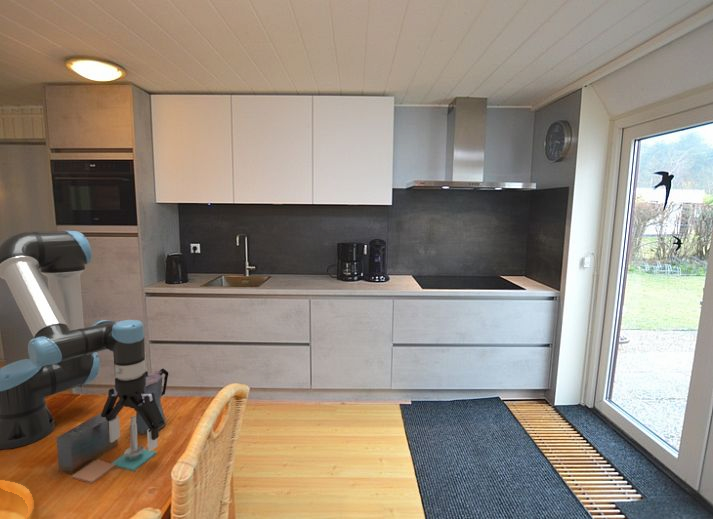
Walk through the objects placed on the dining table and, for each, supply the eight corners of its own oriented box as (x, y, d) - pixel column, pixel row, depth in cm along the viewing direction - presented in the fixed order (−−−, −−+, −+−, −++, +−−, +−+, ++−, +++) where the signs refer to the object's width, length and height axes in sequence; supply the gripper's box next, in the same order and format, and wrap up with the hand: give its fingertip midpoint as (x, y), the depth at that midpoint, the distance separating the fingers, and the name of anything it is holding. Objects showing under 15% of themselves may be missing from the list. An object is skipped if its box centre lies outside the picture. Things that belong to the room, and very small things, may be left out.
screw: (147, 455, 109) (131, 465, 105) (137, 450, 111) (120, 459, 107) (146, 414, 107) (130, 422, 103) (136, 409, 109) (119, 417, 105)
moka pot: (120, 437, 118) (117, 377, 116) (156, 412, 133) (154, 359, 131) (144, 442, 116) (142, 382, 113) (179, 416, 131) (177, 362, 128)
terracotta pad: (72, 478, 100) (71, 476, 100) (96, 461, 107) (96, 459, 106) (92, 483, 98) (92, 481, 98) (115, 466, 105) (115, 464, 105)
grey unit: (57, 470, 102) (55, 437, 101) (104, 441, 116) (102, 411, 115) (72, 474, 101) (70, 440, 100) (117, 444, 114) (116, 414, 113)
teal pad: (111, 465, 105) (111, 463, 105) (134, 448, 113) (134, 446, 113) (133, 471, 103) (133, 469, 103) (156, 453, 111) (156, 451, 111)
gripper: (83, 374, 104) (87, 443, 107) (156, 387, 98) (159, 461, 101) (107, 363, 111) (111, 429, 114) (176, 375, 105) (178, 444, 108)
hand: (133, 444), depth 107 cm, fingers open, 13 cm apart
